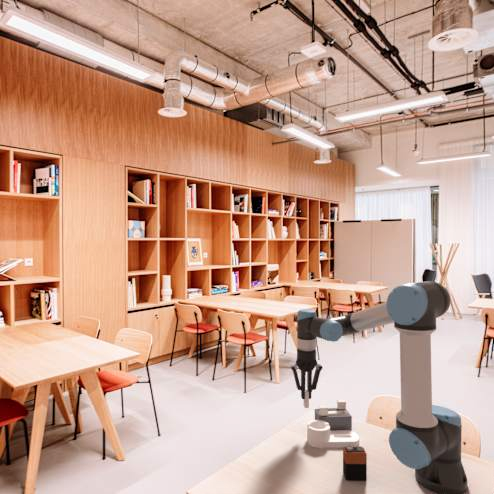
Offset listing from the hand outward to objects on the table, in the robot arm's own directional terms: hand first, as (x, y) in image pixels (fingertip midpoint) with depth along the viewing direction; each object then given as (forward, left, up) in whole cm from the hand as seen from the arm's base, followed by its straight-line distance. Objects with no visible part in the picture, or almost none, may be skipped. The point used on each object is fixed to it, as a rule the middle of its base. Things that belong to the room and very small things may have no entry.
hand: (306, 406), depth 155 cm
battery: (-30, -9, -11) cm, 33 cm away
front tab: (0, -7, -3) cm, 8 cm away
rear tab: (+5, -16, -3) cm, 17 cm away
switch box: (+2, -12, -11) cm, 16 cm away
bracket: (-7, -9, -11) cm, 16 cm away
